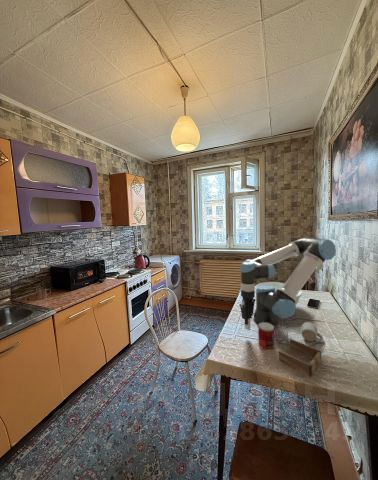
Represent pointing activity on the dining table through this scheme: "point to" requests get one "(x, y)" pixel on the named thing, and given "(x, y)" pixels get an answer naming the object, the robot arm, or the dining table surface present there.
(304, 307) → the dining table surface
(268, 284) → the bowl
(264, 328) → the canned food
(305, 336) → the ceramic mug
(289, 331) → the dining table surface
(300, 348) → the frame
